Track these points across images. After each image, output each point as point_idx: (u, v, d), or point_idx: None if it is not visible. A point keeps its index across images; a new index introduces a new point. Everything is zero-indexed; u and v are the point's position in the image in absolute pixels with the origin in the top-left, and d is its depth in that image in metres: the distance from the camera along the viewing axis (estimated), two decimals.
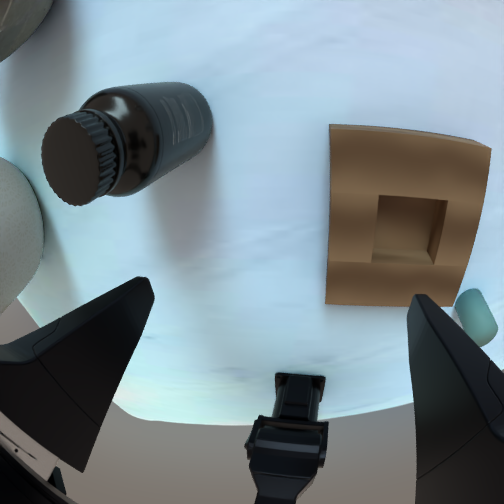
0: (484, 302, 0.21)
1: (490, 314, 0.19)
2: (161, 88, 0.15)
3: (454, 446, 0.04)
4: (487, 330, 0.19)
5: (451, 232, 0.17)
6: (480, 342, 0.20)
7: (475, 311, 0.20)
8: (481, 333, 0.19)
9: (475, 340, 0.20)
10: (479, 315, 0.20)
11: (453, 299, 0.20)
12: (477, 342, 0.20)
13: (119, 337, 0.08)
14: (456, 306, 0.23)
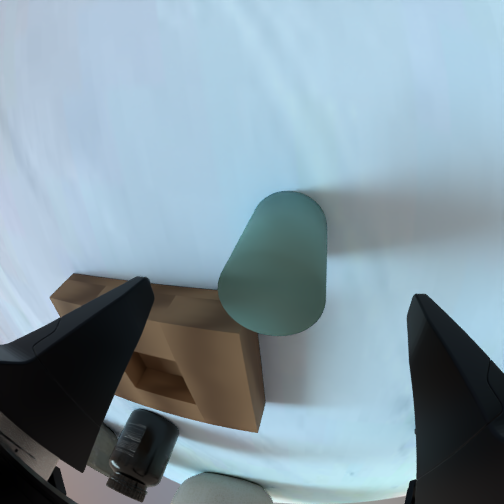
0: None
1: None
2: (118, 439, 0.27)
3: (454, 446, 0.04)
4: (249, 293, 0.09)
5: None
6: (299, 300, 0.09)
7: None
8: (261, 308, 0.09)
9: (289, 317, 0.09)
10: None
11: (223, 334, 0.13)
12: (299, 308, 0.09)
13: (119, 337, 0.08)
14: None
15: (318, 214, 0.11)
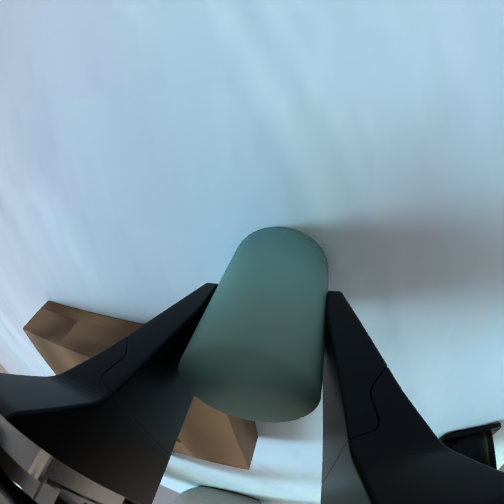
0: None
1: None
2: None
3: None
4: (219, 383, 0.06)
5: None
6: (285, 395, 0.06)
7: None
8: (236, 397, 0.06)
9: (273, 409, 0.06)
10: None
11: None
12: (286, 402, 0.06)
13: None
14: None
15: (317, 261, 0.09)
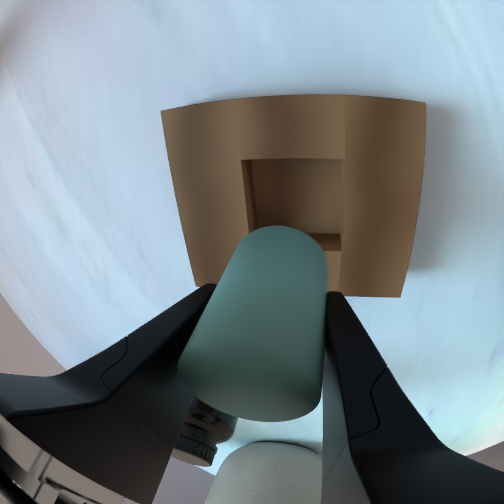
0: None
1: None
2: None
3: None
4: (218, 382, 0.06)
5: (286, 142, 0.14)
6: (285, 394, 0.06)
7: None
8: (235, 397, 0.06)
9: (273, 408, 0.06)
10: None
11: (411, 104, 0.11)
12: (286, 402, 0.06)
13: None
14: None
15: (317, 259, 0.09)
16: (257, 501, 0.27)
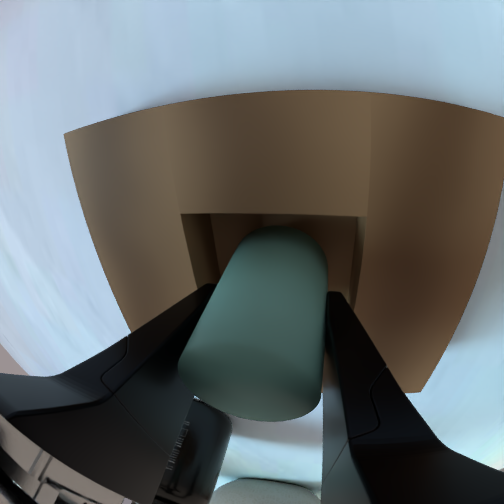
0: None
1: None
2: None
3: None
4: (218, 382, 0.06)
5: (258, 184, 0.08)
6: (285, 394, 0.06)
7: None
8: (235, 396, 0.06)
9: (273, 408, 0.06)
10: None
11: (488, 119, 0.05)
12: (286, 401, 0.06)
13: None
14: None
15: (317, 259, 0.09)
16: None
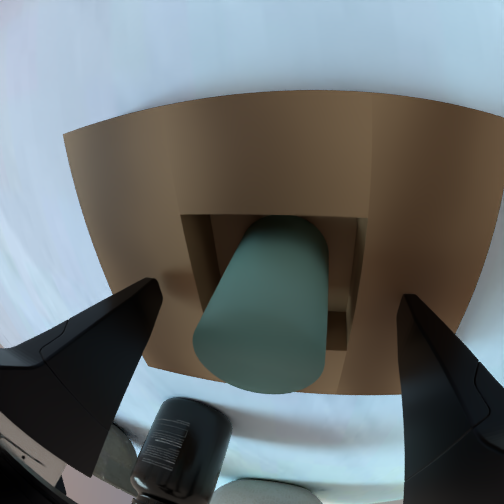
0: None
1: None
2: (143, 444, 0.18)
3: (440, 448, 0.04)
4: (230, 352, 0.07)
5: (258, 185, 0.07)
6: (292, 362, 0.07)
7: None
8: (245, 367, 0.07)
9: (280, 378, 0.07)
10: None
11: (490, 120, 0.05)
12: (292, 370, 0.07)
13: (128, 339, 0.08)
14: None
15: (319, 244, 0.09)
16: None
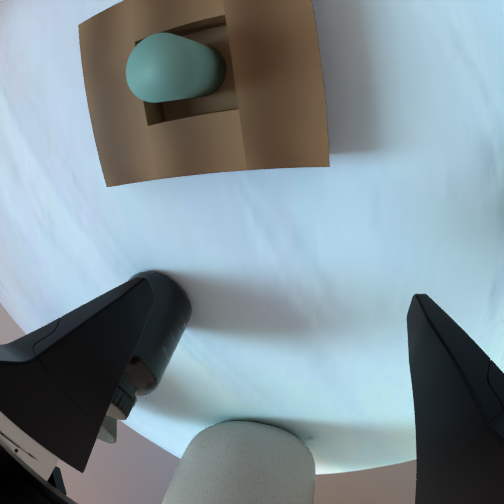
0: None
1: None
2: None
3: (454, 446, 0.04)
4: (143, 68, 0.10)
5: (171, 15, 0.11)
6: (174, 61, 0.10)
7: None
8: (151, 77, 0.10)
9: (170, 78, 0.10)
10: None
11: None
12: (175, 68, 0.10)
13: (119, 337, 0.08)
14: (205, 95, 0.15)
15: (212, 48, 0.13)
16: (218, 487, 0.24)
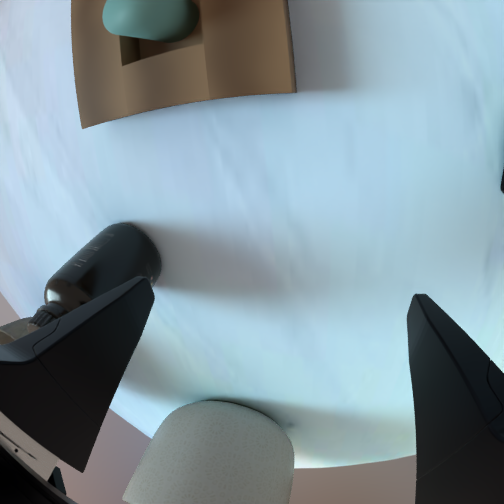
0: None
1: None
2: None
3: (454, 446, 0.04)
4: (117, 7, 0.09)
5: None
6: None
7: None
8: (123, 14, 0.09)
9: (138, 13, 0.09)
10: None
11: None
12: (144, 4, 0.09)
13: (119, 337, 0.08)
14: (178, 39, 0.13)
15: None
16: (184, 468, 0.23)
